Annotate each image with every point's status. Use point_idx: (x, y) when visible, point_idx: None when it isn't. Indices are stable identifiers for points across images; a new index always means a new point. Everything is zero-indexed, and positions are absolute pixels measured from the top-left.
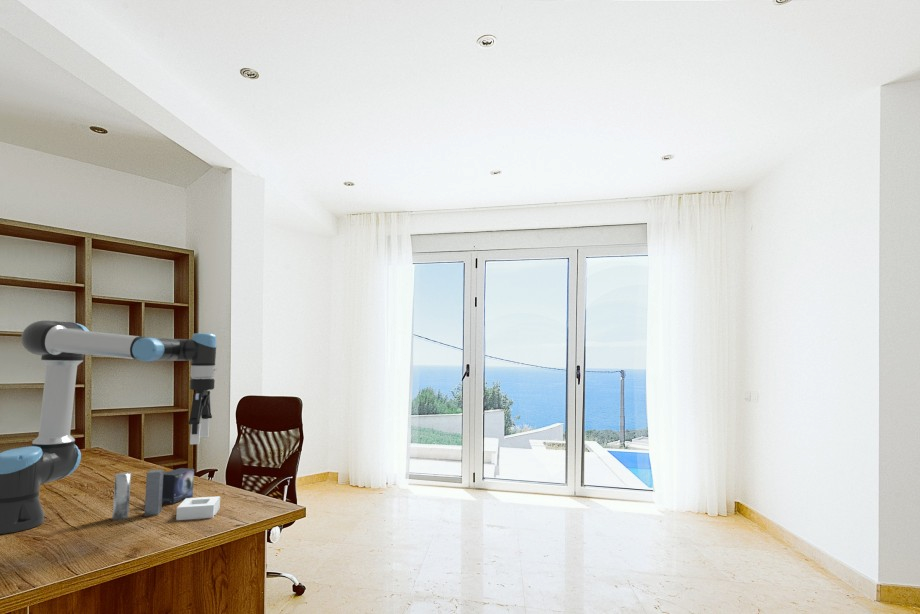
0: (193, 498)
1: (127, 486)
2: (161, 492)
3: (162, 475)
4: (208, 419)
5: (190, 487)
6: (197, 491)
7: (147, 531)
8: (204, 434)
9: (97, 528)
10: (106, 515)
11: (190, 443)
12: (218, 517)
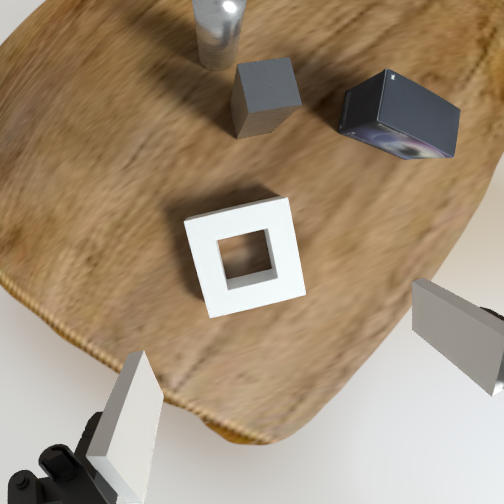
0: (284, 223)
1: (209, 33)
2: (270, 124)
3: (284, 111)
4: (489, 392)
5: (409, 155)
6: None
7: (102, 192)
8: (424, 318)
9: (132, 57)
10: None
11: (129, 359)
12: None
